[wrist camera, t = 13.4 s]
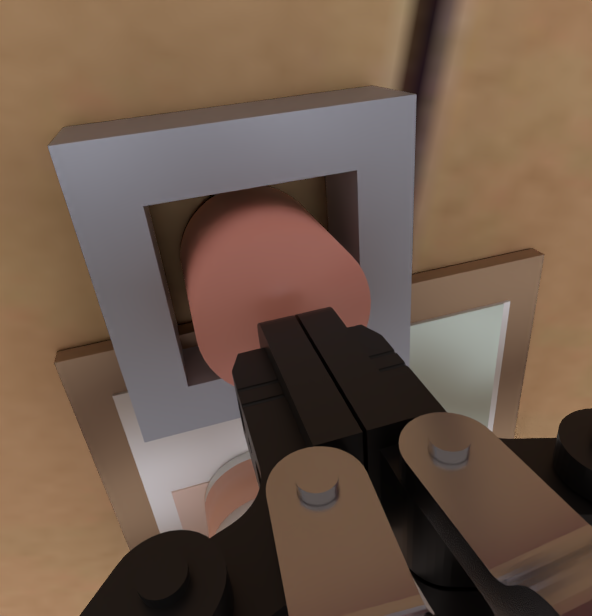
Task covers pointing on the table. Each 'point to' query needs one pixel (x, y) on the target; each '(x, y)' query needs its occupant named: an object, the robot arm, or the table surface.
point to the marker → (230, 493)
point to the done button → (262, 271)
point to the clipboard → (229, 435)
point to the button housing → (225, 178)
